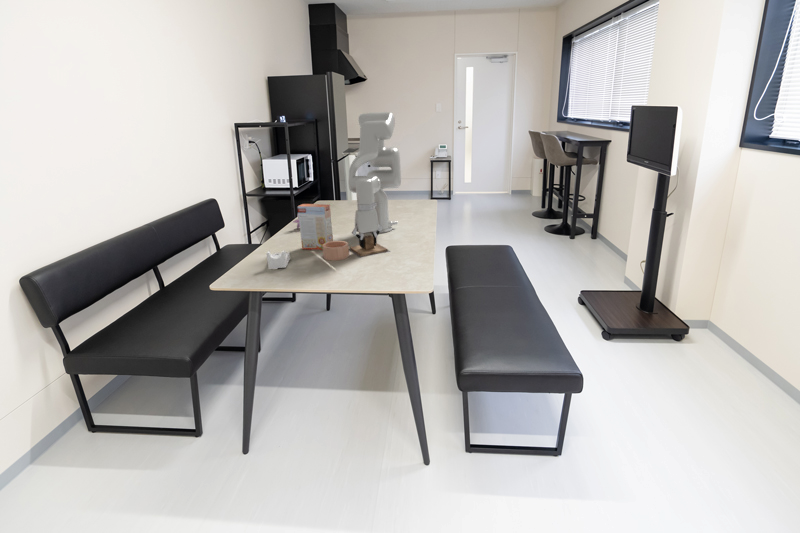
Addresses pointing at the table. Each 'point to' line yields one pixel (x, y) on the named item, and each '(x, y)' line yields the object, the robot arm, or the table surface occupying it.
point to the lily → (297, 222)
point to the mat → (367, 255)
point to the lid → (368, 247)
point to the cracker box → (315, 225)
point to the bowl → (336, 250)
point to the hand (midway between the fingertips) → (368, 246)
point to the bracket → (278, 259)
